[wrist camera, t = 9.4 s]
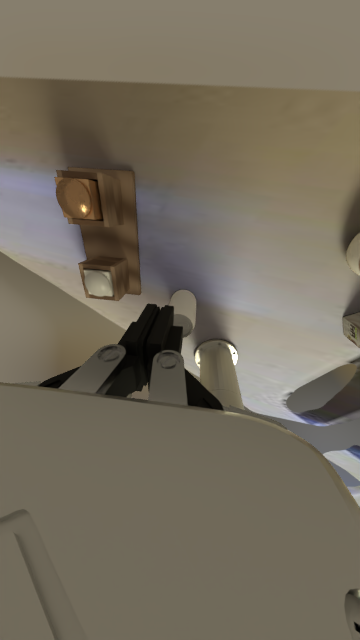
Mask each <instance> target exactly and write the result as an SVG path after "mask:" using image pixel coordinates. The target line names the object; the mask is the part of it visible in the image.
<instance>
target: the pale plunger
mask: <svg viewBox="0 0 360 640" xmlns="http://www.w3.org/2000/svg"><path fill="white" fill-rule="evenodd" d="M84 274H85V280H84V281H85V286H86V288H87V289H88V292H89V294H93V295H95V296H100V297H101V296H113V295H114V289H113V282H112V275H111V271H109V270H98V269H85V270H84Z"/></svg>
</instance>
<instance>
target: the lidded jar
mask: <svg viewBox="0 0 360 640" xmlns="http://www.w3.org/2000/svg"><path fill="white" fill-rule="evenodd" d="M346 261H347V264H348V266H349V267H350V269H351V270H352V271H353V272H354V273H356V274H357V275H359V276H360V232H359V233H358V234H357V235H356V236H355V237H354V238H353V240H352V241H351V243H350V244H349V246H348V249H347V252H346Z"/></svg>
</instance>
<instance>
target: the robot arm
mask: <svg viewBox="0 0 360 640" xmlns="http://www.w3.org/2000/svg"><path fill="white" fill-rule="evenodd" d="M173 323H174V306H168V305H165V307H162V308H161V310H160V307H157V305H156V304H147V306H146V307H145V309H144V310H143V312H142V314H141V315H140V317H139V319H138V320H137V322H132V323H131V325H130V326H129V328H128V329H127V331H126V332H125V334H124V335H123V337H122V338H121V340H120V341H119V343H118V344H111V345H107V346H104V347H102V348H100V349H99V350H97V351H96V352H95V353H94V354H93V355H92V356H91V357H90V358H89V359H88V360H87V361H86V362H85V363H84V364H83V365H82V366H80V367H77V368H75V369H72V370H70V371H67V372H65V373H63V374H60V375H57V376H55V377H52V378H50V379H48V380H46V381H44V382H42V383H41V382H40V381H39V382H25V383H3V382H0V640H360V508H359V506H358V504H357V503H356V501H355V499H354V498H353V496H352V495H351V493H350V492H349V490H348V488H347V487H346V485H345V484H344V482H343V481H342V479H341V477H340V476H339V475H338V474H337V472H336V470H335V469H334V468H333V466H332V465H331V464H330V463H329V461H328V460H327V459H326V458H325V457H324V456H323V455H322V454H321V453H320V452H319V451H318V450H317V449H316V448H315V447H314V446H312V445H311V444H310V443H308V442H307V441H305V440H304V439H302V438H301V437H299V436H297V435H296V434H294V433H292V432H290V431H288V430H287V428H286V427H284V426H283V425H282V424H281V423H279V422H277V421H274V420H272V419H269V418H266V417H263V416H260V415H258V414H254V413H252V412H249V411H246V410H244V407H243V402H242V398H241V393H240V389H239V384H238V380H237V375H236V371H235V366H234V365H235V364H236V362H237V360H238V354H237V351H236V349H235V347H234V346H233V345H232V344H230V343H229V342H227V341H224V340H209V341H206V342H204V343H202V344H201V345H200V346H199V347H198V348H197V349H196V352H195V361H196V363H197V365H198V366H199V367H200V382H199V381H198V380H197V379H196V378H194V377H193V376H192V375H191V374H190V373H189V372H188V371H187V370H186V369H185V368H184V360H183V357H182V355H181V349H182V339H183V327H182V326H173ZM147 383H148V389H149V397H148V400H143V399H135V398H131V397H132V393H133V392H135V391H142V388H143V385H145V386H146V385H147Z"/></svg>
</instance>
